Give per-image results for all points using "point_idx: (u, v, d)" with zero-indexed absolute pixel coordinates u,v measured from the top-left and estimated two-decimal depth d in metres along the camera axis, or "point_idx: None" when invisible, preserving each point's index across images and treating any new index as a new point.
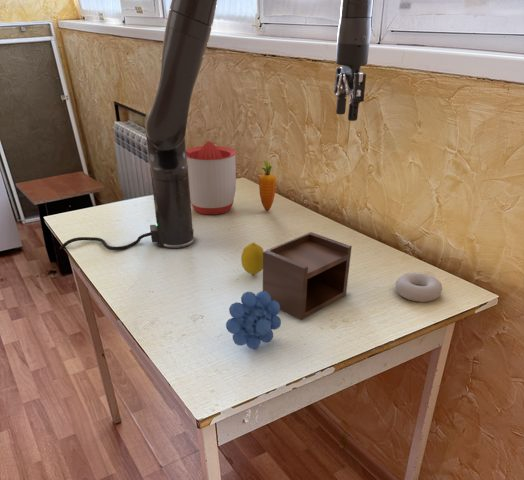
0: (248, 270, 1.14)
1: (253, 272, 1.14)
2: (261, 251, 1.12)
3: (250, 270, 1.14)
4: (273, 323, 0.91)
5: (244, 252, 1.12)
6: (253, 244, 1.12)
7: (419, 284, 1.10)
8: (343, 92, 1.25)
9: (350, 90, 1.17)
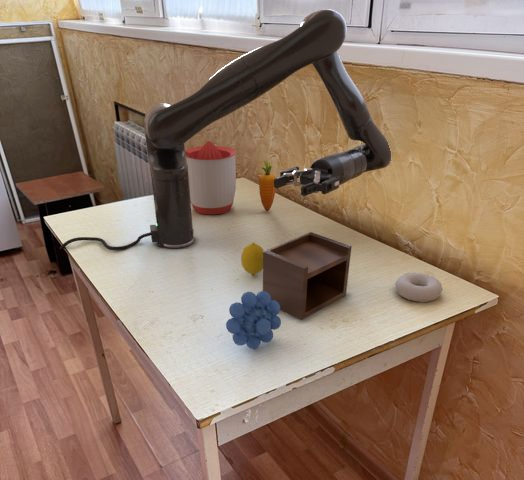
0: (248, 270, 1.14)
1: (253, 272, 1.14)
2: (261, 251, 1.12)
3: (250, 270, 1.14)
4: (273, 323, 0.91)
5: (244, 252, 1.12)
6: (253, 244, 1.12)
7: (419, 284, 1.10)
8: None
9: (319, 179, 1.14)
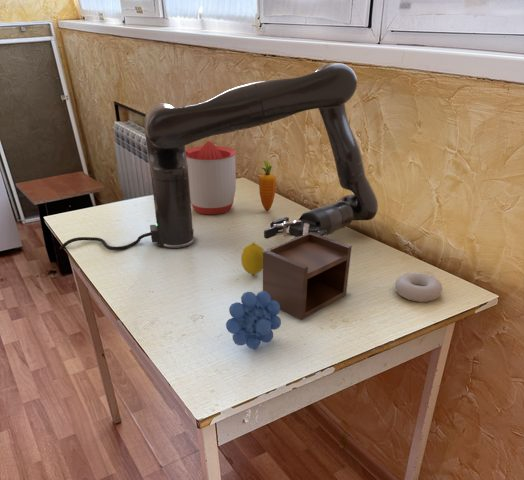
0: (248, 270, 1.14)
1: (253, 272, 1.14)
2: (261, 251, 1.12)
3: (250, 270, 1.14)
4: (273, 323, 0.91)
5: (244, 252, 1.12)
6: (253, 244, 1.12)
7: (419, 284, 1.10)
8: None
9: (308, 232, 1.19)
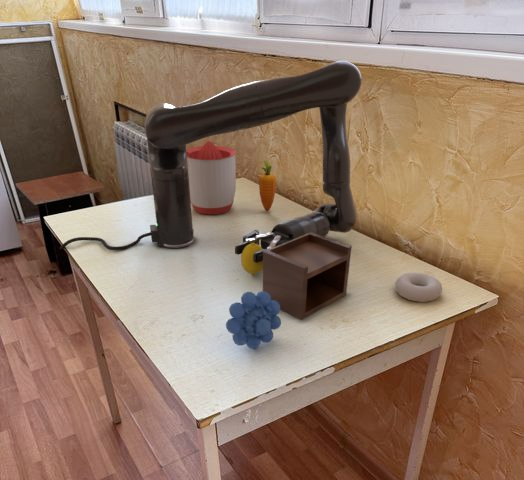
0: (248, 270, 1.14)
1: (253, 272, 1.14)
2: None
3: (250, 270, 1.14)
4: (273, 323, 0.91)
5: (244, 252, 1.12)
6: (253, 244, 1.12)
7: (419, 284, 1.10)
8: None
9: (275, 245, 1.13)
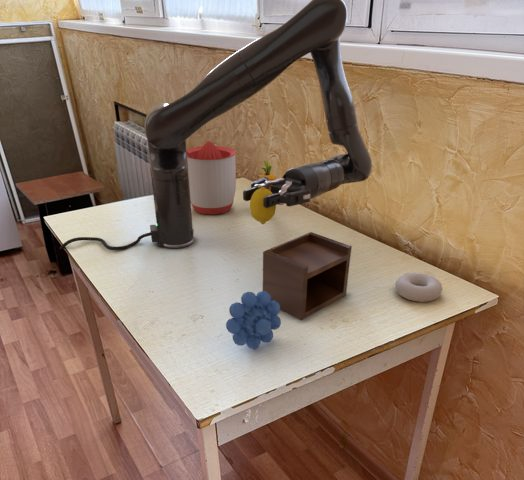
0: (257, 217, 1.05)
1: (263, 220, 1.05)
2: None
3: (259, 217, 1.04)
4: (273, 323, 0.91)
5: (253, 197, 1.03)
6: (263, 188, 1.03)
7: (419, 284, 1.10)
8: None
9: (287, 190, 1.04)
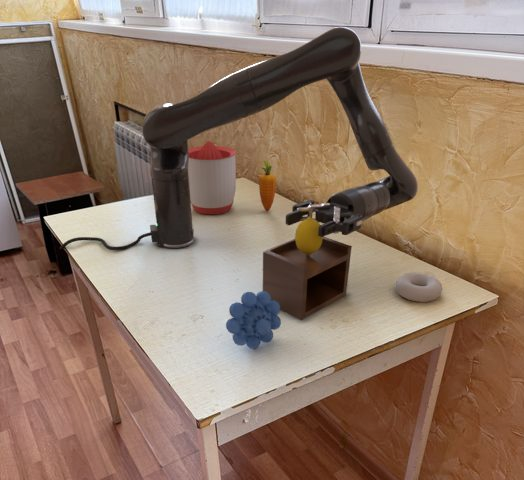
0: (303, 249, 0.99)
1: (309, 252, 0.99)
2: None
3: (305, 249, 0.99)
4: (273, 323, 0.91)
5: (299, 228, 0.98)
6: (310, 219, 0.97)
7: (419, 284, 1.10)
8: None
9: (339, 217, 0.98)
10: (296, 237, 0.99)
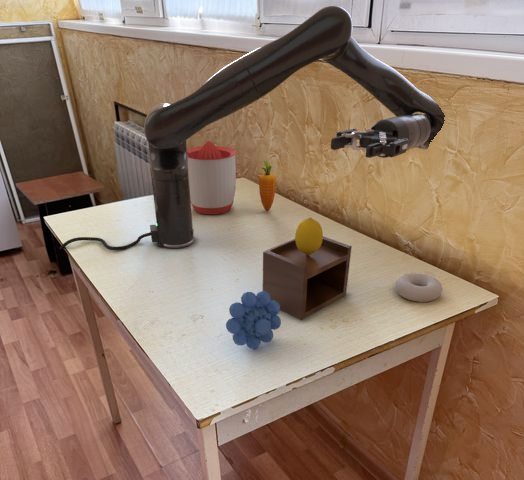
0: (303, 249, 0.99)
1: (309, 252, 0.99)
2: (319, 227, 0.98)
3: (305, 249, 0.99)
4: (273, 323, 0.91)
5: (300, 228, 0.98)
6: (310, 219, 0.97)
7: (419, 284, 1.10)
8: None
9: (385, 140, 0.98)
10: (296, 237, 0.99)
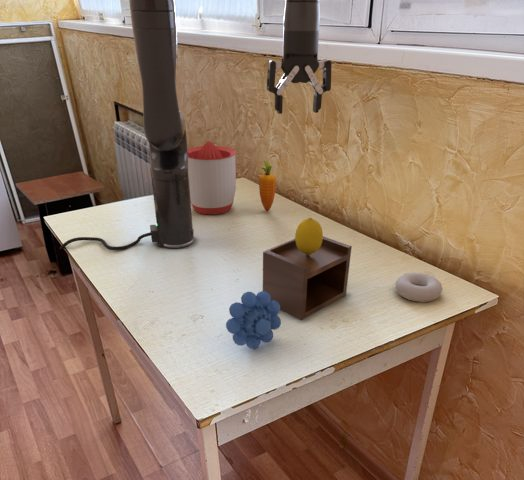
0: (303, 249, 0.99)
1: (309, 252, 0.99)
2: (319, 227, 0.98)
3: (305, 249, 0.99)
4: (273, 323, 0.91)
5: (300, 228, 0.98)
6: (310, 219, 0.97)
7: (419, 284, 1.10)
8: None
9: None
10: (296, 237, 0.99)
